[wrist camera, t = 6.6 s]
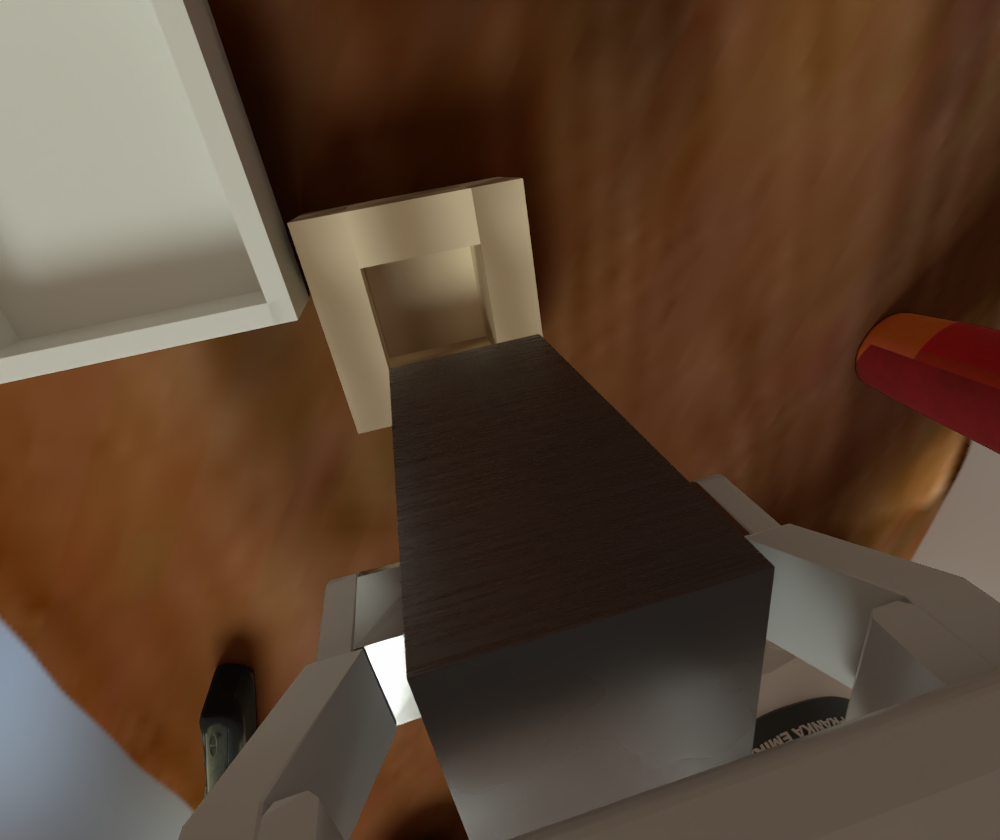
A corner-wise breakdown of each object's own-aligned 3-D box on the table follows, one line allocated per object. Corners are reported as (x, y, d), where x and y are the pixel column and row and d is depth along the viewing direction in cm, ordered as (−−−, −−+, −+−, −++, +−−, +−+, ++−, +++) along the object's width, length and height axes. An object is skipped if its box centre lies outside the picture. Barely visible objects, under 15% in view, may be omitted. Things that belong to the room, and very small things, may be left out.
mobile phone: (188, 723, 32) (204, 861, 38) (240, 718, 33) (249, 854, 38) (211, 658, 36) (222, 790, 42) (257, 655, 37) (262, 785, 43)
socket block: (498, 176, 26) (523, 178, 22) (524, 356, 31) (549, 387, 26) (302, 213, 25) (287, 223, 21) (360, 394, 30) (358, 434, 25)
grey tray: (141, -194, 18) (76, -294, 14) (309, 297, 27) (297, 320, 23) (-310, -154, 16) (-524, -255, 13) (22, 357, 25) (-43, 393, 21)
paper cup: (893, 406, 40) (1126, 513, 27) (822, 386, 37) (1043, 493, 25) (955, 311, 37) (1247, 381, 24) (883, 282, 34) (1167, 344, 22)
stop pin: (539, 333, 13) (775, 567, 5) (555, 460, 15) (749, 771, 7) (389, 368, 13) (406, 678, 5) (425, 494, 15) (479, 868, 7)
